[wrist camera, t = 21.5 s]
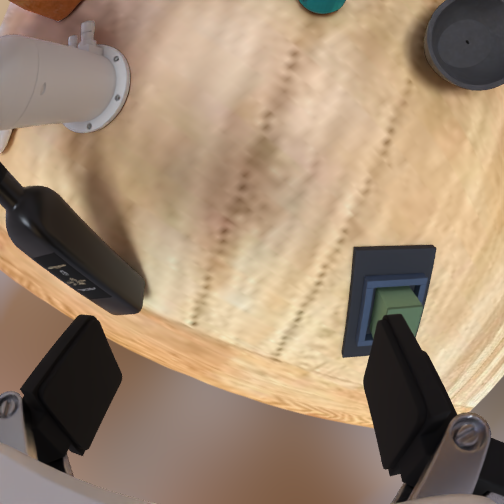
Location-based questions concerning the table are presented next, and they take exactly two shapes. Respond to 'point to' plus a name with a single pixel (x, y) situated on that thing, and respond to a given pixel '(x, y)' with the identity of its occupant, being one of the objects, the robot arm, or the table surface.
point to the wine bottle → (68, 246)
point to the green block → (396, 306)
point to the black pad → (382, 275)
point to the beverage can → (322, 5)
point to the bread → (49, 7)
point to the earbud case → (4, 138)
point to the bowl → (467, 43)
